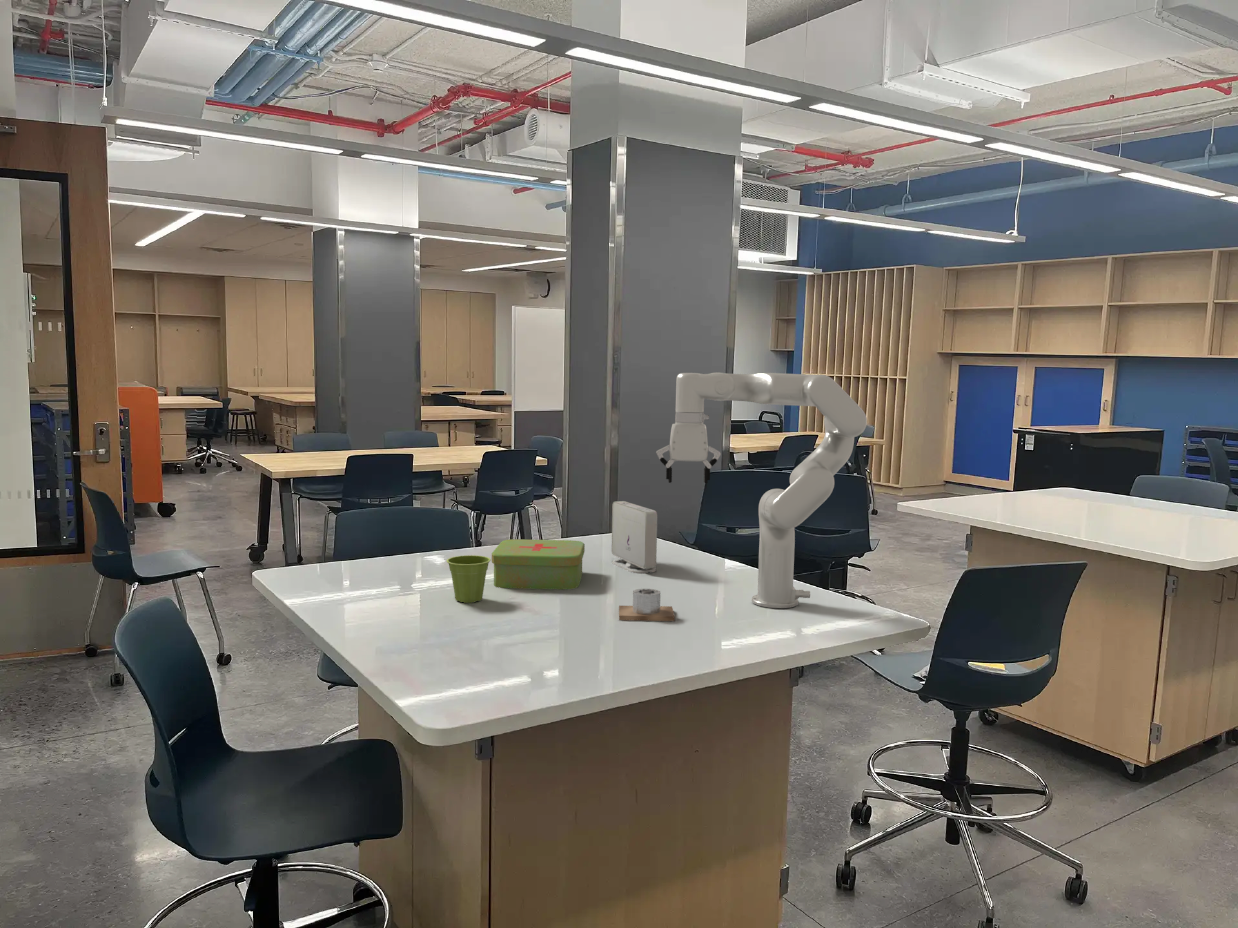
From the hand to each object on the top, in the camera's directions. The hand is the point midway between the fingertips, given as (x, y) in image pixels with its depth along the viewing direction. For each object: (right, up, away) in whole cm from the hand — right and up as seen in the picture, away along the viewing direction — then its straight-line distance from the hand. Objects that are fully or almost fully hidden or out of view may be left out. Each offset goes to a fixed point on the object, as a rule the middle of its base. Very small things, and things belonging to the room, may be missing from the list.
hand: (687, 482), depth 242 cm
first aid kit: (-43, -30, +30) cm, 60 cm away
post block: (-12, -34, -10) cm, 37 cm away
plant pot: (-60, -32, +3) cm, 68 cm away
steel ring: (-11, -33, -10) cm, 36 cm away
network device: (-14, -29, +50) cm, 59 cm away
